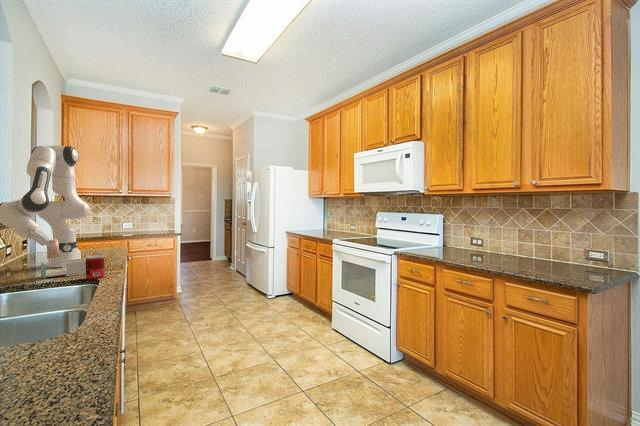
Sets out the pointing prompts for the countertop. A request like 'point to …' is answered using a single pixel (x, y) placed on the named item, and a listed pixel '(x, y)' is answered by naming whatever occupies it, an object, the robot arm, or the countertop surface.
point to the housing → (74, 266)
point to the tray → (51, 271)
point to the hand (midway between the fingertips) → (54, 247)
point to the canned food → (95, 267)
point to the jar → (53, 252)
